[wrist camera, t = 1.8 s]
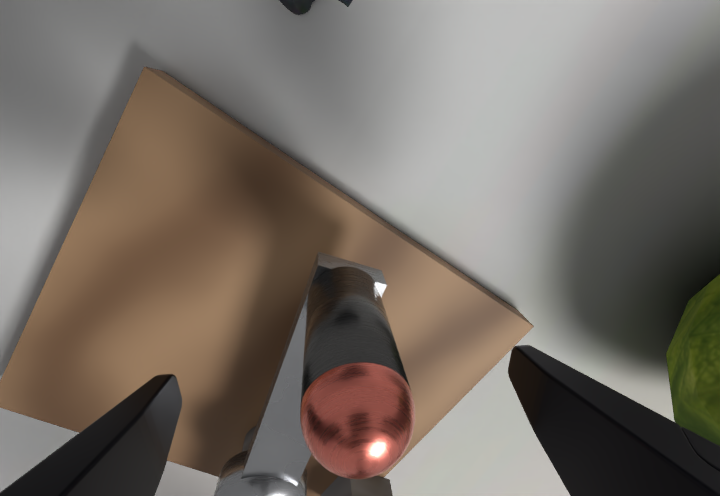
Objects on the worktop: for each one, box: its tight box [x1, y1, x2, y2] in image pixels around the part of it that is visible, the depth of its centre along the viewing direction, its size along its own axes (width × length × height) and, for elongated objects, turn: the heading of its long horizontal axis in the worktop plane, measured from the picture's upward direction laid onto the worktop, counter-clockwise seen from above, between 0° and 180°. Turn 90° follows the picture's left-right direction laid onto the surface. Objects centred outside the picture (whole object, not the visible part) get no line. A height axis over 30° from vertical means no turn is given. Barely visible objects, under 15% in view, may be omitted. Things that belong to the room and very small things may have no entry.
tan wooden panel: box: [0, 67, 534, 496], centre depth 15 cm, size 22×18×7 cm
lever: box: [214, 252, 415, 496], centre depth 13 cm, size 18×4×8 cm, turn 159°
